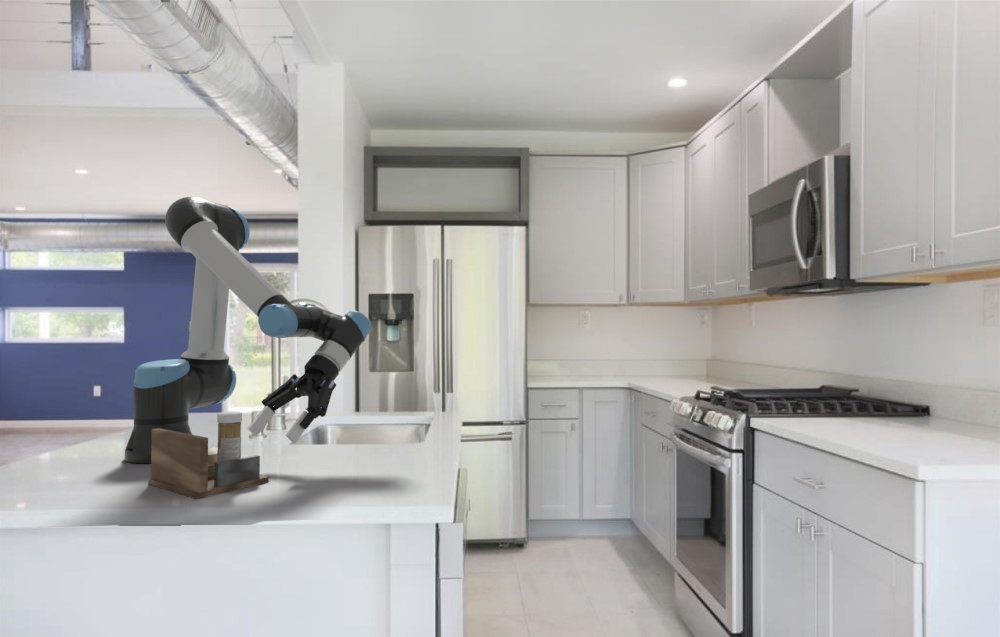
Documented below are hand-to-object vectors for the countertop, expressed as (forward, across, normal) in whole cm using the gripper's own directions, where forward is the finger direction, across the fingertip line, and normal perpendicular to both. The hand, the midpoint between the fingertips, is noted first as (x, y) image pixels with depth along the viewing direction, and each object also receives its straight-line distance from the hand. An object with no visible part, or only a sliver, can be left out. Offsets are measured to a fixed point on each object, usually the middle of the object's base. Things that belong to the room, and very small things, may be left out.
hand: (270, 435), depth 129 cm
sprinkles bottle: (+12, -1, +2) cm, 13 cm away
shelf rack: (+14, +3, +3) cm, 15 cm away
